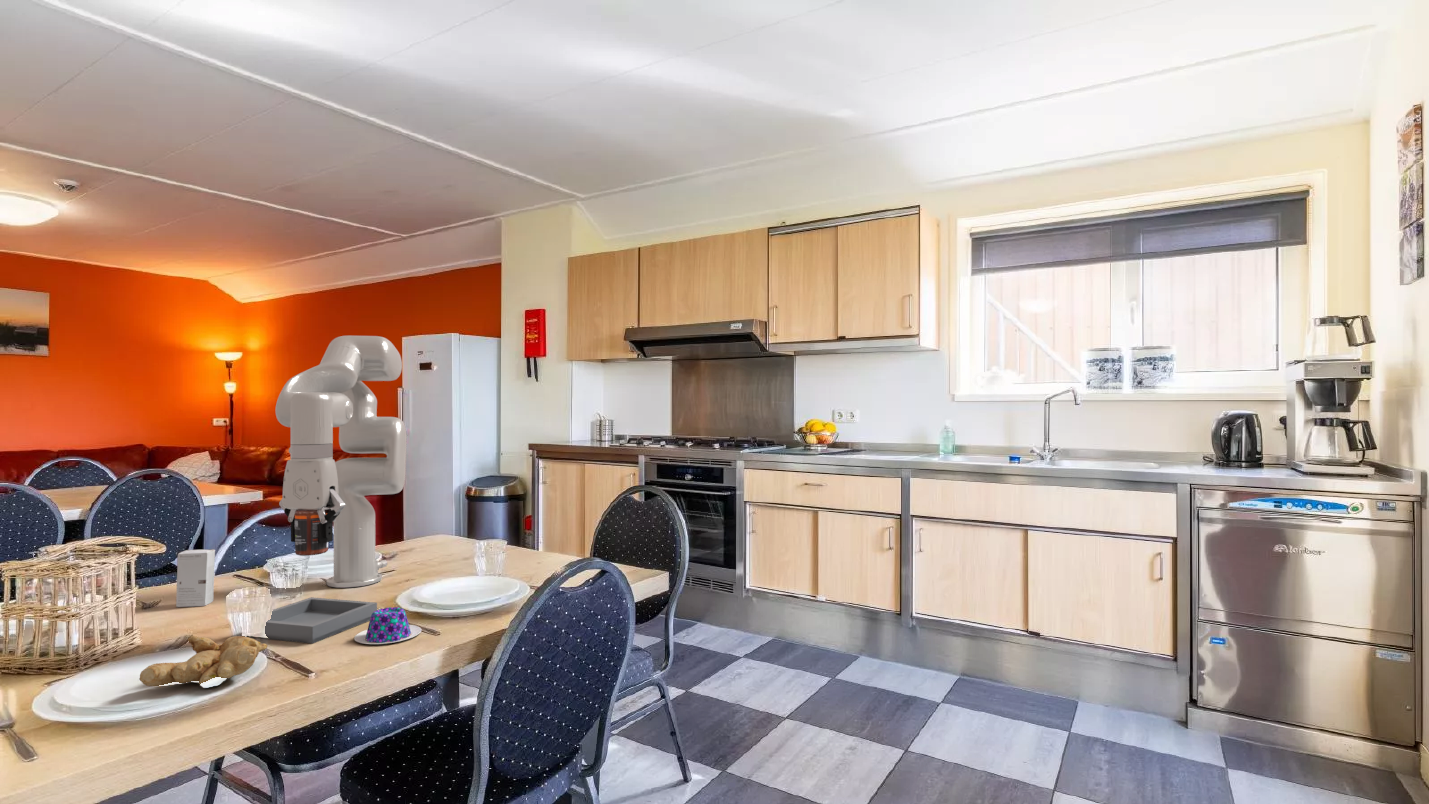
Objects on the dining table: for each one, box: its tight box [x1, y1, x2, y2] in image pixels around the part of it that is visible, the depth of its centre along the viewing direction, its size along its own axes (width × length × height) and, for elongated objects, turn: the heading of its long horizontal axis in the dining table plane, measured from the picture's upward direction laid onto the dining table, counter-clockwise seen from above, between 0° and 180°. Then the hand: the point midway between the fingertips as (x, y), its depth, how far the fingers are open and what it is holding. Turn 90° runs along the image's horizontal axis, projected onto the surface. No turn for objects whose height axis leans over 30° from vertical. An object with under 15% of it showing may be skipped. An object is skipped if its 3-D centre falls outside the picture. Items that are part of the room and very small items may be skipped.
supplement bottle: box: [294, 510, 329, 557], centre depth 146 cm, size 6×6×11 cm
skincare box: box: [175, 549, 216, 608], centre depth 162 cm, size 6×4×12 cm
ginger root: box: [139, 635, 269, 687], centre depth 118 cm, size 16×16×8 cm
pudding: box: [353, 606, 422, 645], centre depth 140 cm, size 12×12×5 cm
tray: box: [265, 596, 378, 644], centre depth 146 cm, size 17×17×3 cm
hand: (311, 540), depth 146 cm, fingers closed on supplement bottle, 6 cm apart
